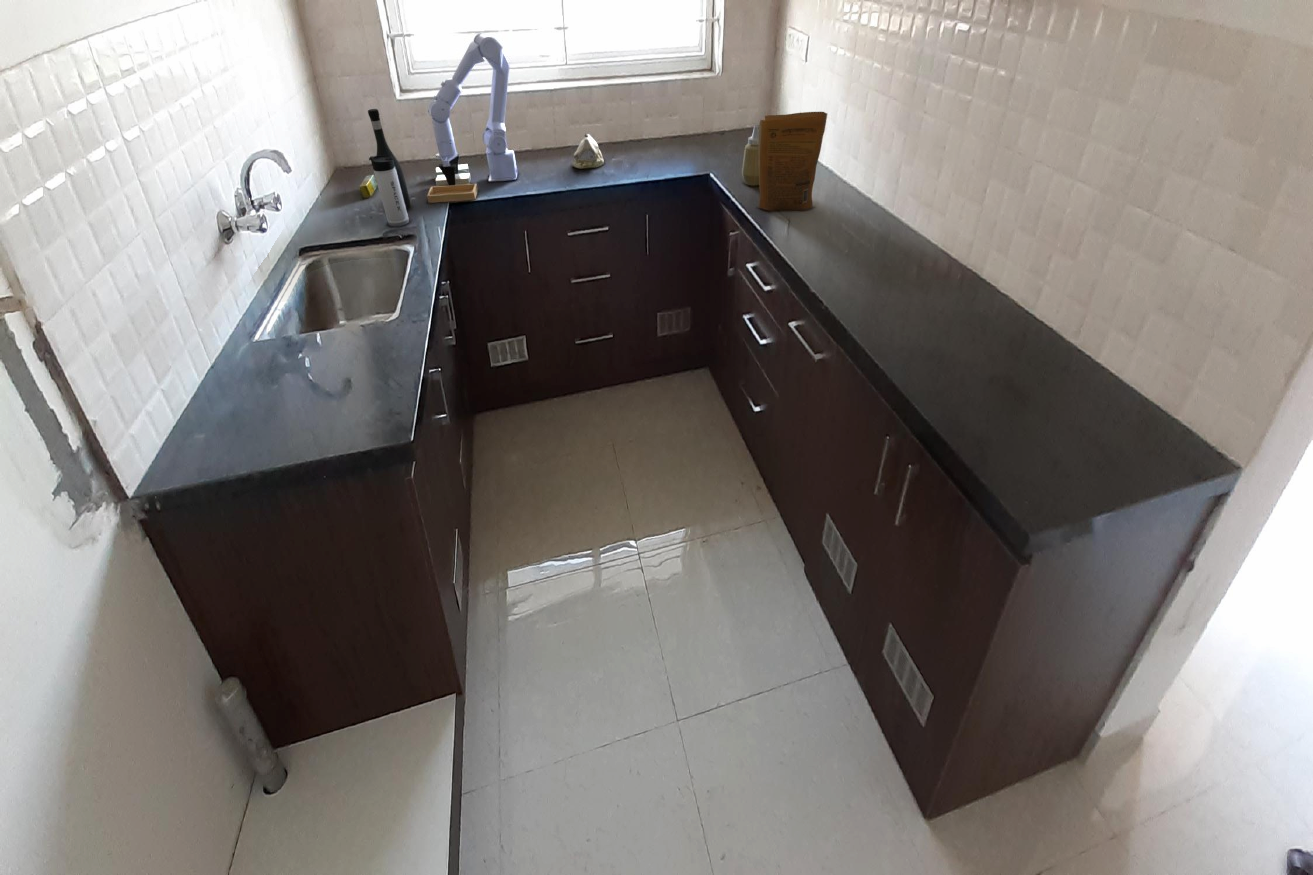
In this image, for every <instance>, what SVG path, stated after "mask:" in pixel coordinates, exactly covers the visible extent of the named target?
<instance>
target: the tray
mask: <svg viewBox="0 0 1313 875" xmlns="http://www.w3.org/2000/svg"><path fill="white" fill-rule="evenodd" d="M478 191H479V188H478V183H469V184H464V185H463V184H455V185H446V186H437V185H435V186H430V188H429V190H428V193H427V195H426V198H427V201H428V204H433V203H434V204H435V203H446V202H447V203H448V202H460V201H475V200H476V198H477V196H478Z"/></svg>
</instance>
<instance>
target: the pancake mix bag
mask: <svg viewBox="0 0 1313 875" xmlns="http://www.w3.org/2000/svg"><path fill="white" fill-rule="evenodd" d="M827 119H828V113H827V112H825V111H803V112H793V113H789V114H788V113H787V114H769V115H764V119H760V121H759V125H758V128H759V144H758V156H759V160H758V164H759V185H758V186H759V197H760V199H759V203H758V208H760V209H762V210H764V211H771V212H773V211H778V212H779V211H806V210H809V209H811V208H813V207H814V205H813V187H814V183H815V180H816V171H817V165H818V161H819V159H820V155H821V151H822V144H823V139H824V134H825V132H826V125H827Z"/></svg>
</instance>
